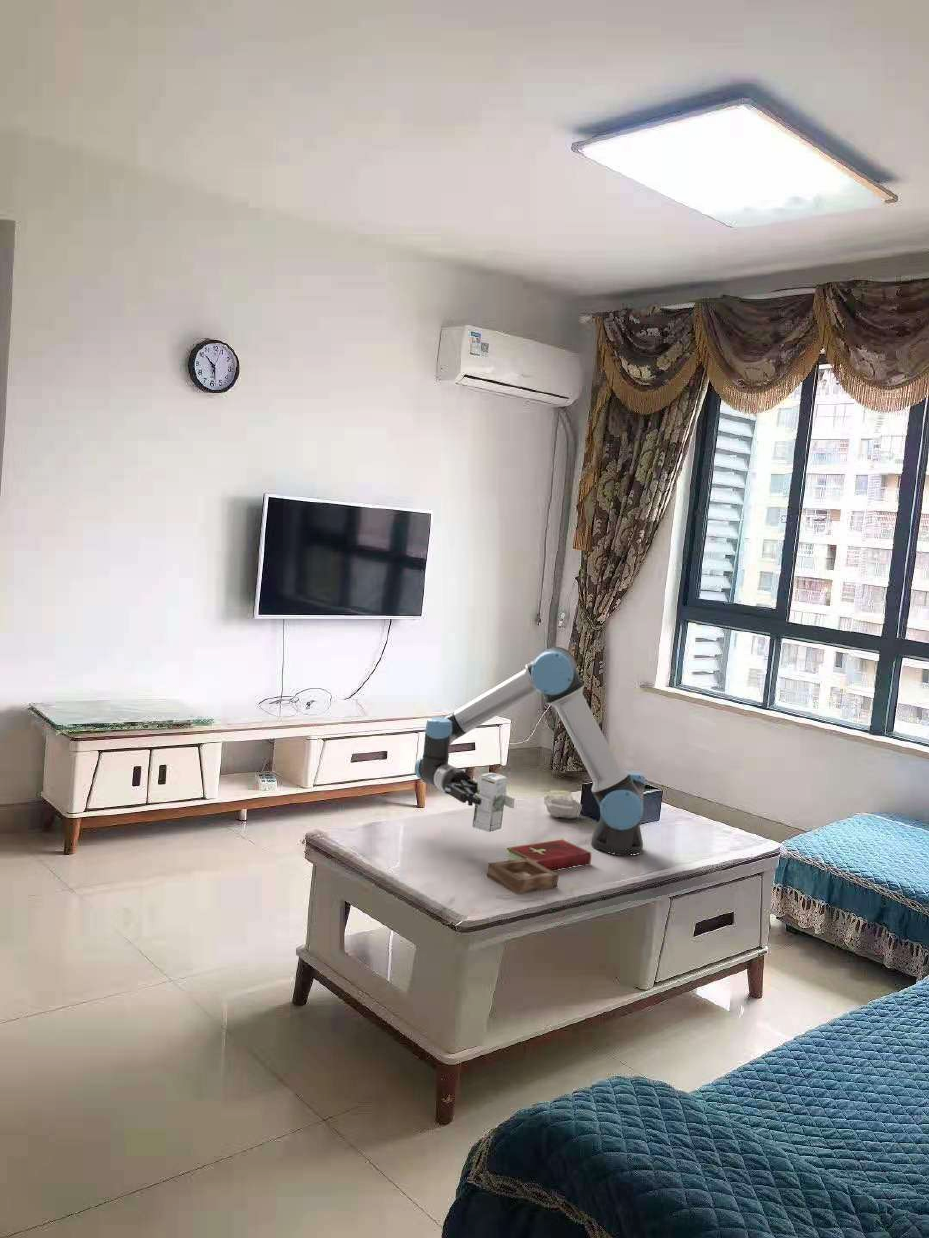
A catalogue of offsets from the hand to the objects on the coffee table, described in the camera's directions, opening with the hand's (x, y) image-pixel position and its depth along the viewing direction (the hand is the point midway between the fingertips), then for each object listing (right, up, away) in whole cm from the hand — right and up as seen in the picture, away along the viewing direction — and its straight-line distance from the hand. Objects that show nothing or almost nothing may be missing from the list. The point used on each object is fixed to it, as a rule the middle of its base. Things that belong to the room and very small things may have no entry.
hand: (501, 804), depth 271 cm
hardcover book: (+13, -19, +12) cm, 26 cm away
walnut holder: (+5, -19, -6) cm, 21 cm away
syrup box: (-4, -7, +5) cm, 10 cm away
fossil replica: (+22, -15, +59) cm, 65 cm away
